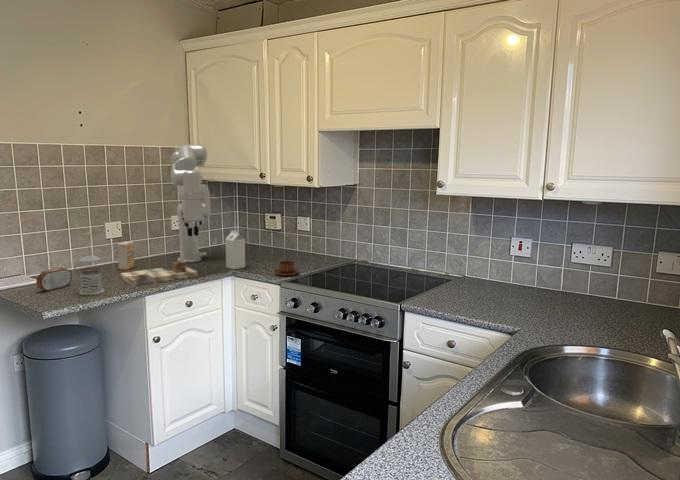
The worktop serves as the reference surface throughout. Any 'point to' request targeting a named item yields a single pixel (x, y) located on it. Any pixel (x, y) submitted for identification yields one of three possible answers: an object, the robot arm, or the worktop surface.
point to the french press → (90, 276)
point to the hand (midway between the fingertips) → (193, 235)
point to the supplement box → (126, 255)
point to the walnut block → (179, 266)
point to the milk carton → (235, 251)
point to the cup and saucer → (286, 269)
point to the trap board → (155, 276)
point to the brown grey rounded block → (54, 279)
